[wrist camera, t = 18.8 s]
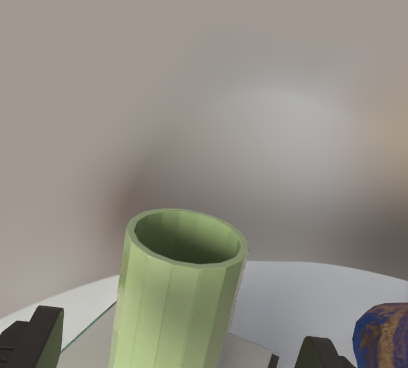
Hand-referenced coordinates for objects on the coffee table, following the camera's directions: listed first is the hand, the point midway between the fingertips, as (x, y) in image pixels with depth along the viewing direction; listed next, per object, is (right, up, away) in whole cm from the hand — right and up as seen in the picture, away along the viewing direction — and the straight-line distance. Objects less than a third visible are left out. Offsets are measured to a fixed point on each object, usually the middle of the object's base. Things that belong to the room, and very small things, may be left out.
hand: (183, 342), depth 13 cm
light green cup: (-2, -6, +9) cm, 11 cm away
